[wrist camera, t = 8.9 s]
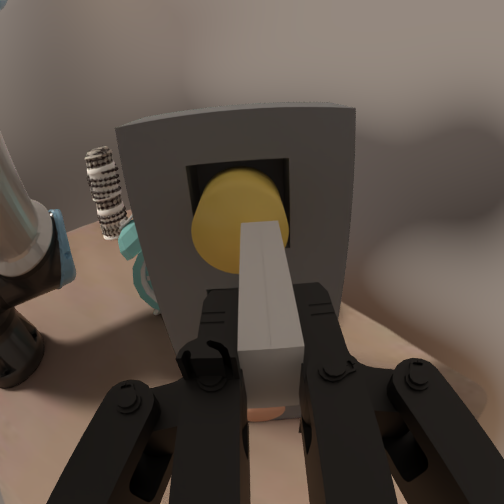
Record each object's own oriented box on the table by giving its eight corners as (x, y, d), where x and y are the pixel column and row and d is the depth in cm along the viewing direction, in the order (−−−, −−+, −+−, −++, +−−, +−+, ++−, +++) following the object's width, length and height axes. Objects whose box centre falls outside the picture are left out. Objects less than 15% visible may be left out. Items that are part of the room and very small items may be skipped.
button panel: (207, 386, 37) (143, 117, 20) (311, 380, 37) (330, 102, 20) (204, 421, 32) (115, 128, 15) (318, 415, 32) (355, 108, 15)
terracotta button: (234, 390, 29) (228, 362, 27) (281, 387, 29) (282, 359, 27) (233, 422, 26) (227, 398, 23) (284, 419, 26) (285, 395, 23)
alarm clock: (136, 324, 48) (99, 218, 38) (143, 290, 56) (116, 195, 46) (235, 312, 50) (221, 199, 39) (230, 279, 58) (218, 179, 47)
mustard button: (206, 241, 20) (196, 169, 18) (281, 236, 20) (279, 163, 17) (199, 276, 17) (184, 192, 14) (288, 270, 17) (288, 184, 14)
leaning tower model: (132, 223, 85) (115, 142, 72) (131, 236, 77) (111, 147, 64) (104, 229, 83) (85, 150, 70) (101, 243, 75) (77, 156, 62)
